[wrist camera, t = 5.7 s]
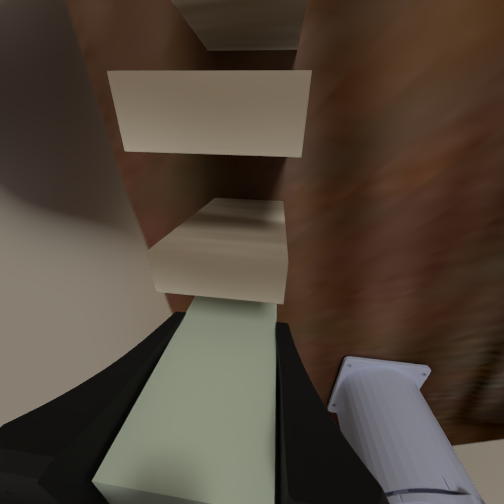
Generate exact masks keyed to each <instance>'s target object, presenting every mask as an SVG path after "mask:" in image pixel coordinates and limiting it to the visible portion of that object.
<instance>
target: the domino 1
mask: <svg viewBox="0 0 504 504" xmlns="http://www.w3.org/2000/svg"><path fill="white" fill-rule="evenodd" d="M171 1H172V3H173V4H174V5H175V7H176V8H177V9H178V11H179V12H180V14H181V15H182V16H183V18H184V19H185V20H186V22H187V23H188V24H189V26H190V27H191V29H192V30H193V31H194V33H195V34H196V35H197V37H198V38H199V39H200V41H201V42H202V44H203V45H204V46H205V48H206V49H207V50H208V51H238V50H298V45H299V40H300V34H301V29H302V24H303V19H304V13H305V8H306V3H307V0H171Z"/></svg>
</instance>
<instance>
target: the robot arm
mask: <svg viewBox="0 0 504 504" xmlns="http://www.w3.org/2000/svg"><path fill="white" fill-rule="evenodd" d="M185 315H186V313H185V312H175V313H174V314H173V315H172V316H171V317H169V318H168V319H167V320H166V321H165V322H164V323H163V324H162V325H160V326H159V327H158V328H157V329H156V330H155V331H154V332H153V333H151V334H150V335H149V336H148V337H147V338H145V339H144V340H143V341H142V342H141V343H139V344H138V345H137V346H136V347H134V348H133V349H132V350H130V351H129V352H128V353H127V354H125V355H124V356H123V357H121V358H120V359H119V360H117V361H116V362H114V363H113V364H112V365H110V366H109V367H107V368H106V369H104V370H103V371H101V372H100V373H98V374H96V375H95V376H93V377H91V378H90V379H88V380H87V381H85V382H83V383H82V384H80V385H79V386H77V387H75V388H73V389H72V390H70V391H68V392H66V393H65V394H63V395H61V396H59V397H57V398H56V399H54V400H52V401H50V402H48V403H46V404H44V405H42V406H40V407H39V408H37V409H35V410H33V411H30V412H28V413H27V414H25V415H22V416H20V417H18V418H16V419H14V420H12V421H10V422H8V423H6V424H4V425H3V426H2V427H0V504H110V503H109V502H108V501H107V500H106V498H105V497H104V496H103V495H102V493H101V492H100V491H99V490H98V488H97V487H96V486H95V485H94V484H93V482H92V480H93V478H94V476H95V474H96V473H97V471H98V469H99V467H100V465H101V464H102V462H103V460H104V458H105V456H106V455H107V453H108V451H109V449H110V448H111V446H112V444H113V442H114V440H115V439H116V437H117V435H118V433H119V431H120V430H121V428H122V426H123V424H124V423H125V421H126V419H127V417H128V415H129V414H130V412H131V410H132V408H133V406H134V405H135V403H136V401H137V399H138V398H139V396H140V394H141V392H142V390H143V389H144V387H145V385H146V383H147V382H148V380H149V378H150V376H151V374H152V373H153V371H154V369H155V367H156V365H157V364H158V362H159V360H160V358H161V357H162V355H163V353H164V351H165V349H166V348H167V346H168V344H169V342H170V340H171V339H172V337H173V335H174V333H175V332H176V330H177V329H178V327H179V326H180V324H181V322H182V320H183V318H184V317H185ZM430 372H431V370H430V368H429V367H428V366H426V365H420V364H412V363H403V362H395V361H386V360H378V359H369V358H360V357H352V356H347V357H345V358H344V359H343V362H342V365H341V368H340V371H339V374H338V377H337V380H336V383H335V386H334V389H333V392H332V395H331V398H330V400H329V403H328V410H327V409H326V407H325V405H324V404H323V402H322V400H321V399H320V397H319V395H318V393H317V392H316V390H315V388H314V386H313V384H312V382H311V380H310V378H309V376H308V374H307V372H306V370H305V368H304V366H303V364H302V361H301V359H300V357H299V354H298V352H297V349H296V347H295V344H294V341H293V339H292V335H291V332H290V328H289V325H288V324H287V323H280V322H276V404H275V495H274V504H485V503H484V501H483V499H482V498H481V496H480V494H479V492H478V491H477V489H476V487H475V485H474V484H473V482H472V480H471V479H470V477H469V475H468V473H467V472H466V470H465V468H464V466H463V465H462V463H461V461H460V460H459V458H458V457H457V454H456V453H455V451H454V449H453V447H452V446H451V444H450V442H449V441H448V439H447V437H446V435H445V434H444V432H443V430H442V429H441V427H440V425H439V423H438V422H437V420H436V418H435V416H434V415H433V413H432V411H431V410H430V408H429V406H428V404H427V403H426V401H425V399H424V398H423V396H422V394H421V392H420V391H419V389H420V387H421V386H422V384H423V383H424V381H425V380H426V378H427V377H428V375H429V374H430ZM328 411H330V412H334V413H337V416H338V421H339V425H340V429H339V427H338V426H337V424H336V423H335V421H334V420H333V418H332V417H331V415H330V414H329V412H328Z"/></svg>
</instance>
